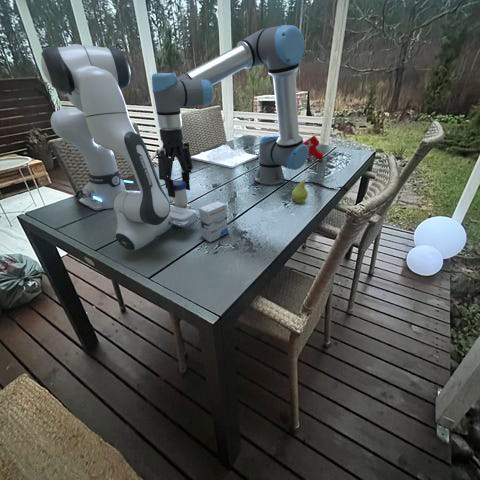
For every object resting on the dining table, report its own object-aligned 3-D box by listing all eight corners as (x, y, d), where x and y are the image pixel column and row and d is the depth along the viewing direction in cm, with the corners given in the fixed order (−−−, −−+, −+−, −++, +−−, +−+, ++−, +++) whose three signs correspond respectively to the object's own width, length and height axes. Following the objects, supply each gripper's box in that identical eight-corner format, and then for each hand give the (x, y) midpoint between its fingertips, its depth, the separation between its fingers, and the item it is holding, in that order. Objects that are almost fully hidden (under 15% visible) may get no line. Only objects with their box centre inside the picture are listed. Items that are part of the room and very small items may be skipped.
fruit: (288, 200, 123) (290, 174, 116) (302, 197, 125) (305, 172, 119) (296, 206, 118) (299, 179, 111) (310, 203, 120) (314, 177, 114)
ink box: (219, 228, 102) (217, 199, 95) (228, 233, 99) (227, 204, 92) (201, 237, 97) (198, 207, 90) (210, 242, 94) (207, 212, 87)
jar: (184, 224, 105) (180, 187, 97) (174, 221, 107) (168, 185, 99) (192, 218, 109) (187, 183, 101) (181, 216, 111) (177, 181, 103)
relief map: (232, 168, 162) (231, 159, 159) (190, 158, 179) (189, 150, 177) (257, 157, 180) (257, 149, 177) (217, 149, 198) (217, 142, 195)
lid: (189, 186, 101) (189, 182, 100) (178, 191, 97) (177, 186, 96) (179, 183, 104) (178, 178, 103) (167, 187, 100) (167, 183, 99)
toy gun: (327, 155, 171) (315, 134, 168) (326, 157, 168) (314, 136, 164) (302, 170, 182) (290, 151, 178) (301, 172, 178) (289, 152, 174)
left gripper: (181, 218, 89) (204, 202, 100) (135, 206, 97) (161, 193, 107) (184, 234, 93) (205, 217, 103) (139, 222, 100) (163, 207, 111)
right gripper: (183, 122, 98) (189, 182, 110) (138, 132, 84) (151, 200, 96) (199, 124, 95) (204, 186, 107) (155, 134, 80) (167, 205, 93)
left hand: (182, 205), depth 105 cm, fingers closed on jar, 5 cm apart
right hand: (179, 192), depth 102 cm, fingers open, 7 cm apart
